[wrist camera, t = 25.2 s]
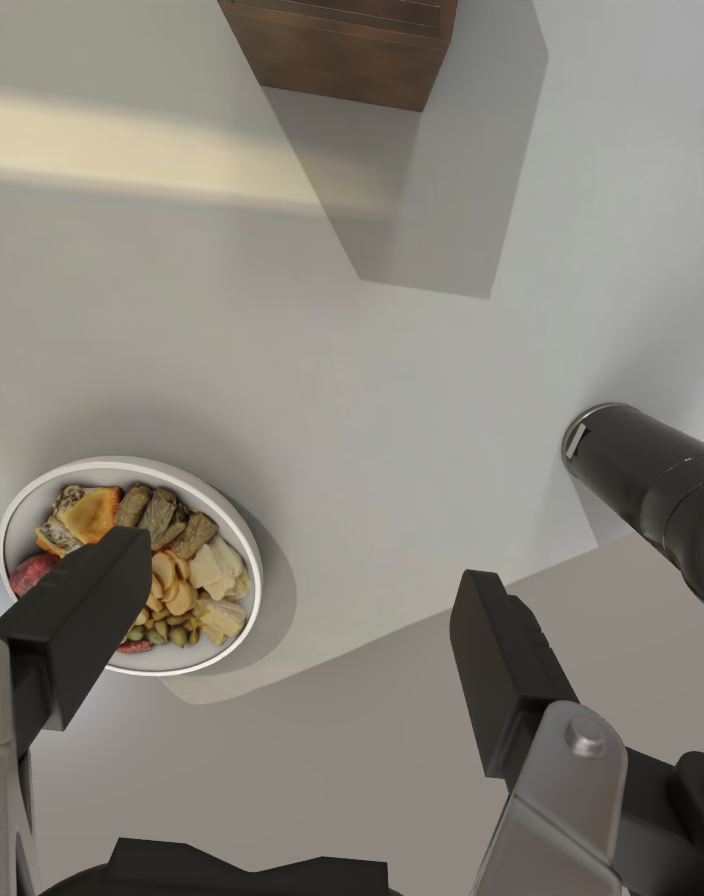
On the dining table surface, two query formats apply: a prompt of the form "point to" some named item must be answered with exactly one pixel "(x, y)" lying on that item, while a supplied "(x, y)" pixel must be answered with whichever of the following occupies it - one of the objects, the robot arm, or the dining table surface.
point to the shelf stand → (346, 46)
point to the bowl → (172, 545)
